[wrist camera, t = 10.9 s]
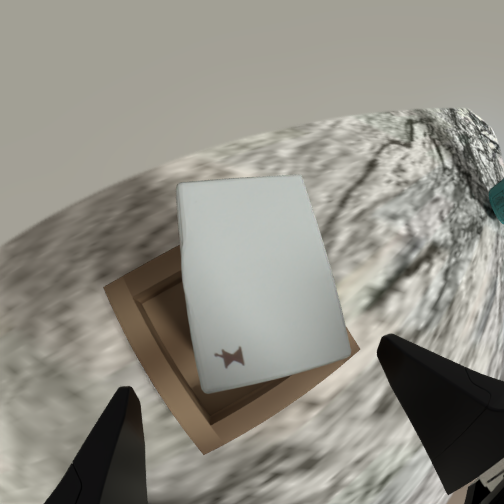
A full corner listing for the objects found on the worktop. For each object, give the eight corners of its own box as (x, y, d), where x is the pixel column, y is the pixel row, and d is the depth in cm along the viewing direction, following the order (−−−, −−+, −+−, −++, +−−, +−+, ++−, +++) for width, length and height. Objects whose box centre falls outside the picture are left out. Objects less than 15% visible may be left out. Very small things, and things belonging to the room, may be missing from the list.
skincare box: (268, 356, 18) (357, 362, 7) (206, 367, 17) (197, 400, 6) (251, 271, 20) (305, 169, 8) (192, 280, 19) (169, 180, 8)
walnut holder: (337, 350, 19) (360, 349, 16) (204, 437, 16) (203, 454, 13) (254, 224, 22) (262, 202, 19) (119, 297, 18) (103, 287, 15)
